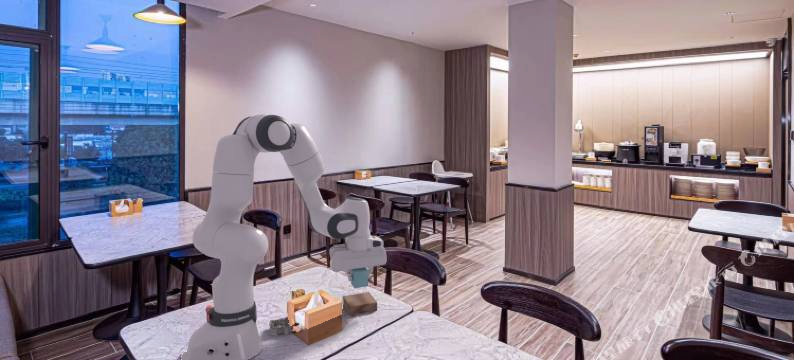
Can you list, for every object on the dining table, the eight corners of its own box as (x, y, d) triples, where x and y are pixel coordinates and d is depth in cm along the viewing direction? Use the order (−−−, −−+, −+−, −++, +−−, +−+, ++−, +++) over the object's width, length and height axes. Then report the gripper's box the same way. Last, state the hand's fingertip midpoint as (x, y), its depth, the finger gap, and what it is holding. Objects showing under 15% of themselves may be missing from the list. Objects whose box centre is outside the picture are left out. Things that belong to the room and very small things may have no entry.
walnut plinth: (349, 314, 153) (349, 306, 152) (343, 303, 162) (342, 296, 162) (377, 310, 156) (377, 302, 156) (369, 299, 165) (368, 292, 165)
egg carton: (303, 323, 147) (303, 312, 147) (302, 334, 140) (302, 322, 140) (270, 326, 146) (270, 314, 145) (268, 337, 138) (267, 325, 138)
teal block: (354, 288, 155) (354, 272, 154) (351, 283, 160) (350, 267, 159) (368, 286, 157) (367, 270, 156) (364, 281, 161) (363, 265, 160)
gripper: (331, 248, 149) (332, 286, 151) (387, 241, 156) (388, 278, 158) (327, 243, 155) (329, 280, 157) (382, 236, 162) (383, 272, 164)
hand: (359, 279), depth 158 cm, fingers closed on teal block, 5 cm apart
